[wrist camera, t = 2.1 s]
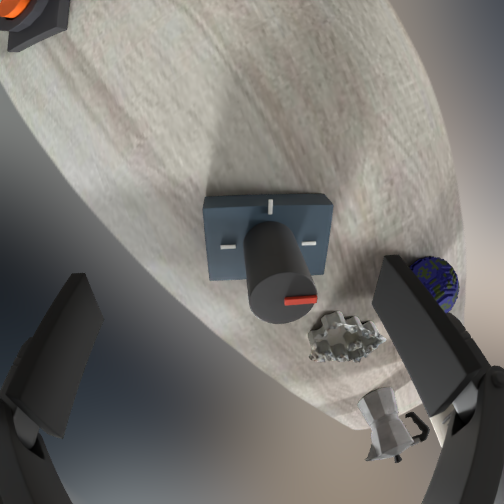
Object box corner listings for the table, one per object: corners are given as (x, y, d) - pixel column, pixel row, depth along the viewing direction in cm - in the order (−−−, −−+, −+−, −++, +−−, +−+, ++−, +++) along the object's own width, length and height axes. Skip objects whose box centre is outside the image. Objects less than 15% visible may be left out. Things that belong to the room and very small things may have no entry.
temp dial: (243, 267, 28) (249, 329, 21) (242, 222, 26) (249, 276, 19) (293, 265, 29) (313, 324, 21) (296, 220, 26) (322, 272, 19)
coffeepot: (349, 413, 57) (367, 476, 42) (348, 399, 52) (370, 470, 37) (406, 391, 56) (430, 449, 40) (411, 373, 51) (441, 438, 36)
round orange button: (6, 23, 11) (-4, 22, 9) (10, -3, 9) (1, -5, 7) (30, 8, 11) (20, 6, 9) (35, -18, 9) (26, -22, 8)
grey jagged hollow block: (299, 338, 39) (305, 360, 36) (332, 303, 36) (341, 325, 33) (350, 353, 43) (357, 372, 39) (380, 323, 39) (391, 342, 36)
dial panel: (211, 269, 32) (210, 286, 29) (204, 190, 27) (201, 202, 24) (315, 263, 32) (323, 280, 30) (324, 188, 28) (335, 199, 25)
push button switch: (14, 54, 15) (-8, 54, 12) (23, -14, 10) (4, -19, 7) (67, 29, 16) (46, 24, 12) (77, -41, 11) (60, -52, 7)
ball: (433, 236, 32) (466, 269, 25) (442, 271, 35) (470, 303, 29) (388, 270, 34) (415, 309, 28) (402, 301, 38) (426, 337, 31)
